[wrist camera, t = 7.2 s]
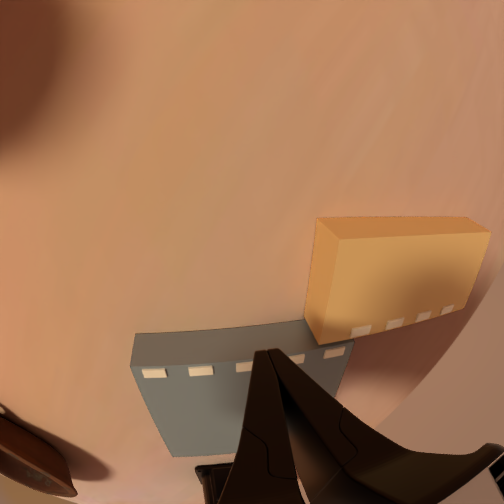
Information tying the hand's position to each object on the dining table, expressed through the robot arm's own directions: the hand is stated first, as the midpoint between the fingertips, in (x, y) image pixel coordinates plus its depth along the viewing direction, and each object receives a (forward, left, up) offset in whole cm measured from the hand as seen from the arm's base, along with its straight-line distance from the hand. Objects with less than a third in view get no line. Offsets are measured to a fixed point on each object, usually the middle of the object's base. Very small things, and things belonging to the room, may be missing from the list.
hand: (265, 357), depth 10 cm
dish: (-23, +28, -6) cm, 36 cm away
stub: (0, -10, -6) cm, 11 cm away
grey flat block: (-10, 0, -6) cm, 11 cm away
